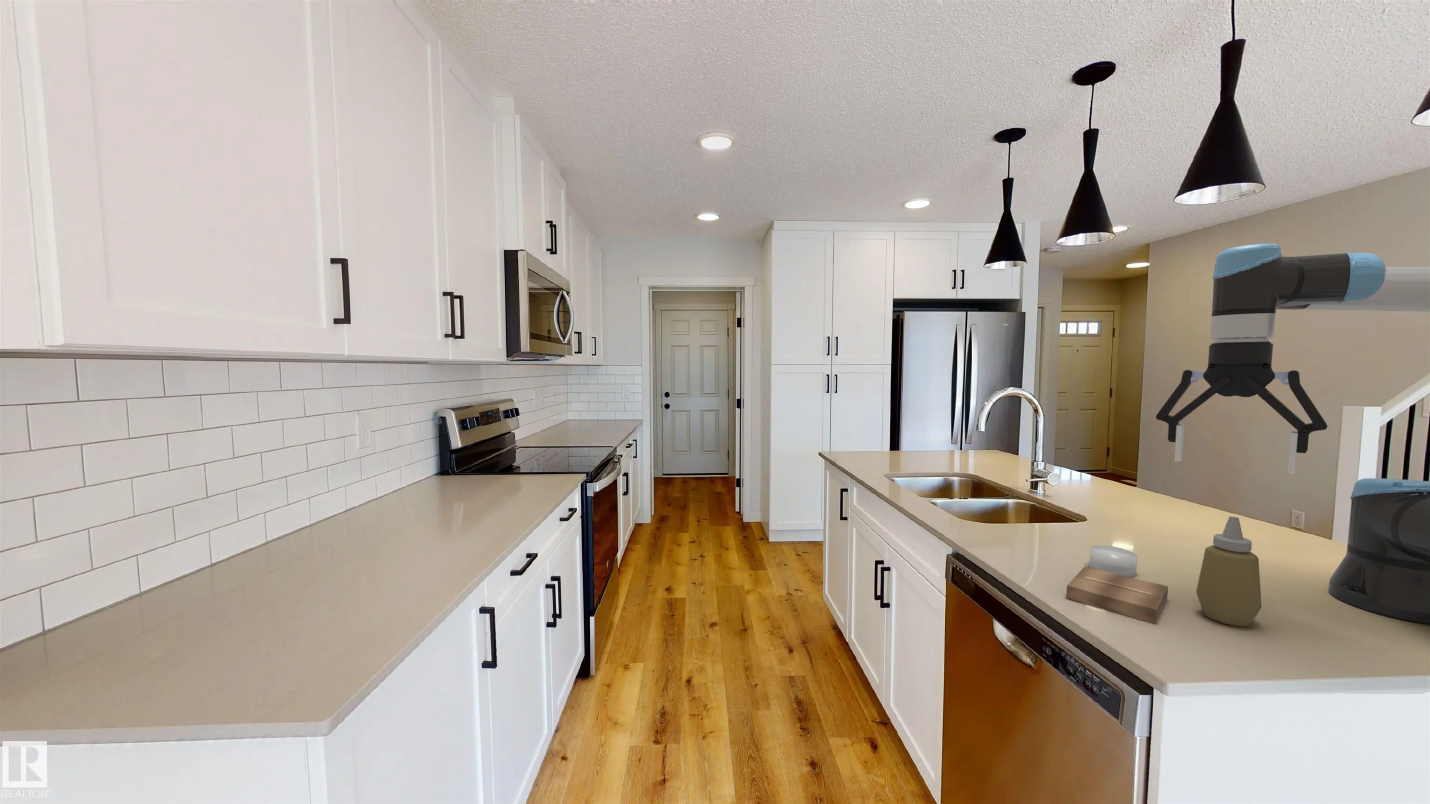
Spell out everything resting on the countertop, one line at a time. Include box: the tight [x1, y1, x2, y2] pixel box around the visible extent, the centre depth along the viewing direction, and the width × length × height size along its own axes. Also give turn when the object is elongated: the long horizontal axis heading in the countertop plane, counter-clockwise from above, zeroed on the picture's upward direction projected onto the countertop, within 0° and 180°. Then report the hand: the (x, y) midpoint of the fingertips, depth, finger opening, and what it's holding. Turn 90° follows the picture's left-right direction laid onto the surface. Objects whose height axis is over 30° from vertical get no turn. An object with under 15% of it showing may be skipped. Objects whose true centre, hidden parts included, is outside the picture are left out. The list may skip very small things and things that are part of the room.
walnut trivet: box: [1065, 566, 1169, 625], centre depth 97 cm, size 13×13×3 cm
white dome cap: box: [1088, 544, 1139, 578], centre depth 110 cm, size 8×8×4 cm
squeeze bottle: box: [1196, 516, 1263, 627], centre depth 89 cm, size 8×8×18 cm
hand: (1231, 466), depth 88 cm, fingers open, 13 cm apart
